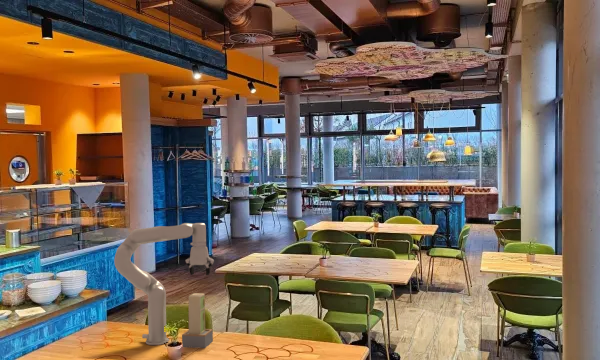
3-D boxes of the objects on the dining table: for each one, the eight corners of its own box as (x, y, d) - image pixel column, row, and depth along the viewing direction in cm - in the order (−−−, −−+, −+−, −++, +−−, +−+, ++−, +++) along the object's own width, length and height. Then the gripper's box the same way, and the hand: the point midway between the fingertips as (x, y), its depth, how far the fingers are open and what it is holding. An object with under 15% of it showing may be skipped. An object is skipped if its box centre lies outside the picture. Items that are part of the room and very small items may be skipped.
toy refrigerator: (201, 335, 278) (200, 296, 279) (188, 335, 280) (188, 296, 280) (206, 331, 286) (206, 293, 287) (194, 331, 287) (193, 293, 288)
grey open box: (182, 347, 278) (182, 334, 278) (190, 340, 290) (190, 328, 290) (205, 347, 276) (205, 335, 276) (212, 341, 288) (212, 329, 288)
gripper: (182, 245, 295) (183, 275, 294) (210, 245, 290) (211, 276, 290) (188, 243, 302) (188, 273, 302) (216, 244, 298) (216, 273, 297)
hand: (199, 274), depth 296 cm, fingers open, 9 cm apart
